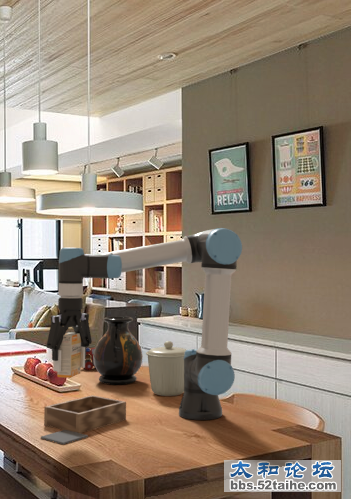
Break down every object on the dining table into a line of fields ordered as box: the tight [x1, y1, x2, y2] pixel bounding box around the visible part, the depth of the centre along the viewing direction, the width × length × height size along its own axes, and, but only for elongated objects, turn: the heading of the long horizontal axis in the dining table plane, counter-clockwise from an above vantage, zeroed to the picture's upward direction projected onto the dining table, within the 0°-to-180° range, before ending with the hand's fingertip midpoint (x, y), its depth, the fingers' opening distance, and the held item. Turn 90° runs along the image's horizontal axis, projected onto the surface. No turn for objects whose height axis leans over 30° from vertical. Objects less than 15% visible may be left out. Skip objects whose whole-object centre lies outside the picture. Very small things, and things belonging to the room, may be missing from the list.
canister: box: [145, 340, 187, 397], centre depth 262 cm, size 18×18×21 cm
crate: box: [43, 394, 127, 434], centre depth 217 cm, size 22×16×6 cm
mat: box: [40, 429, 89, 445], centre depth 198 cm, size 10×10×1 cm
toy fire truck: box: [84, 347, 95, 371], centre depth 316 cm, size 7×12×10 cm, turn 110°
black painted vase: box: [93, 316, 143, 386], centre depth 285 cm, size 22×22×28 cm
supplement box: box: [56, 332, 81, 379], centre depth 203 cm, size 8×5×13 cm, turn 167°
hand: (69, 369), depth 203 cm, fingers closed on supplement box, 9 cm apart
